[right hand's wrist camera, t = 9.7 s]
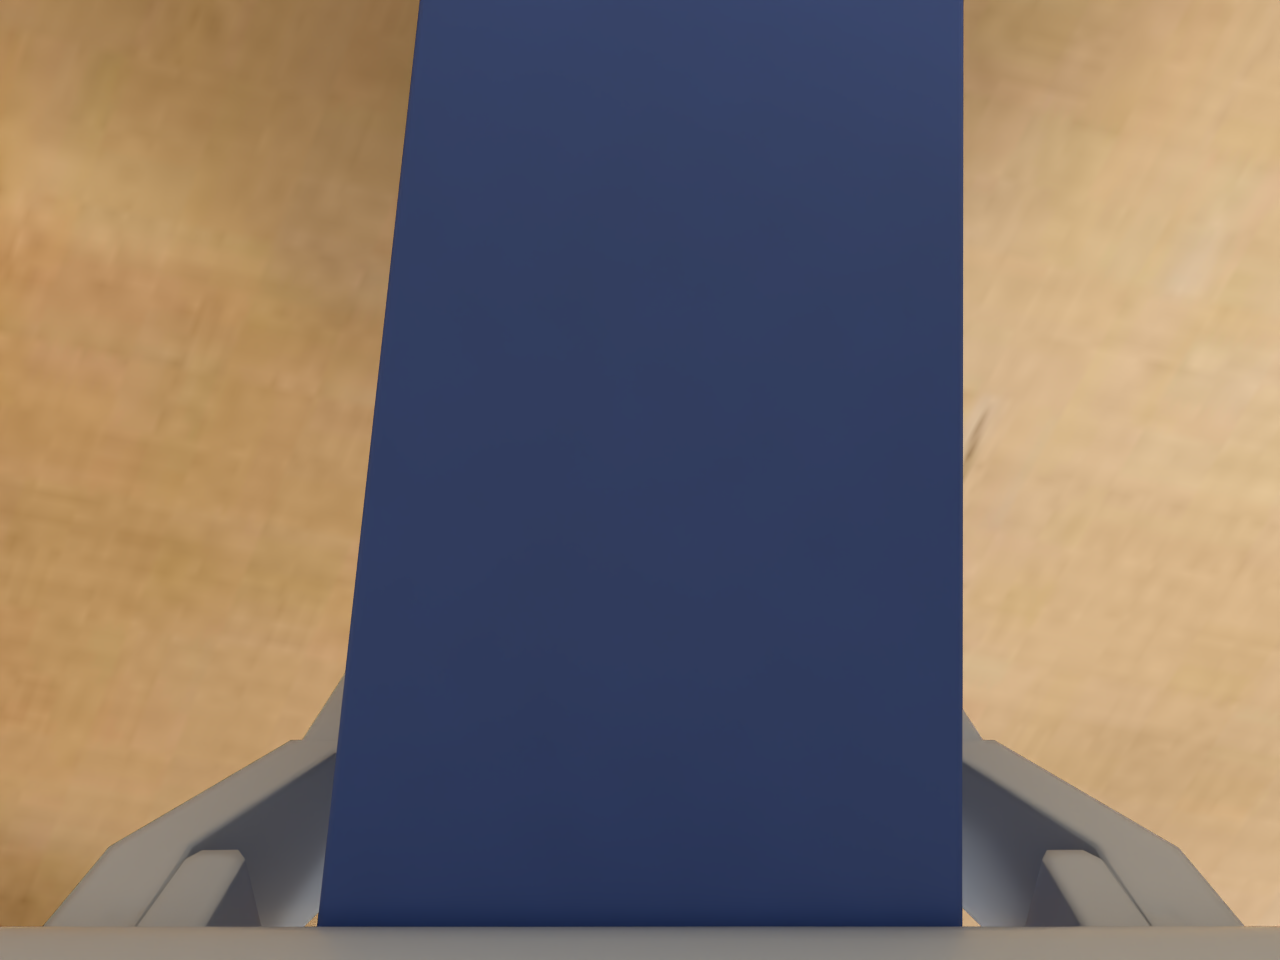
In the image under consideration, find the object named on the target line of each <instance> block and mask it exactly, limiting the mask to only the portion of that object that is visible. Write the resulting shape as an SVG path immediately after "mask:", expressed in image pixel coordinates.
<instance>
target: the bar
mask: <svg viewBox="0 0 1280 960" xmlns="http://www.w3.org/2000/svg"><path fill="white" fill-rule="evenodd" d="M962 698H963V0H420V3H419V12H418V22H417V31H416V40H415V49H414V58H413V67H412V76H411V85H410V94H409V103H408V112H407V121H406V130H405V139H404V148H403V157H402V166H401V175H400V184H399V193H398V202H397V211H396V220H395V229H394V238H393V247H392V256H391V265H390V274H389V283H388V292H387V301H386V310H385V319H384V328H383V337H382V346H381V355H380V364H379V373H378V382H377V391H376V400H375V409H374V418H373V427H372V436H371V445H370V454H369V463H368V472H367V481H366V490H365V499H364V508H363V517H362V526H361V535H360V544H359V553H358V562H357V571H356V580H355V589H354V598H353V607H352V616H351V625H350V634H349V643H348V652H347V661H346V670H345V679H344V688H343V697H342V706H341V716H340V725H339V734H338V743H337V752H336V761H335V770H334V779H333V788H332V797H331V806H330V815H329V824H328V833H327V842H326V851H325V860H324V869H323V878H322V887H321V896H320V905H319V914H318V923H317V927H686V926H839V927H962Z"/></svg>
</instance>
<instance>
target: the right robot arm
mask: <svg viewBox="0 0 1280 960" xmlns="http://www.w3.org/2000/svg"><path fill="white" fill-rule="evenodd" d="M344 679H345V674H344V675H343V677H342V678H341V680H340V681H339V683H338V685H337V686H336V688H335V689H334V691H333V692H332V694H331V695H330V697H329V699H328V700H327V702H326V703H325V705H324V706H323V708H322V710H321V711H320V713H319V714H318V716H317V717H316V719H315V720H314V722H313V724H312V725H311V727H310V728H309V730H308V731H307V733H306V735H305V736H304V738H303V739H302V740H290V741H289V742H287V743H285V744H284V745H282V746H280V747H278V748H277V749H275V750H273V751H272V752H270V753H268V754H267V755H265V756H263V757H261V758H260V759H258V760H256V761H255V762H253V763H251V764H249V765H248V766H246V767H244V768H243V769H241V770H239V771H238V772H236V773H234V774H232V775H231V776H229V777H227V778H226V779H224V780H222V781H220V782H219V783H217V784H215V785H214V786H212V787H210V788H209V789H207V790H205V791H203V792H202V793H200V794H198V795H197V796H195V797H193V798H191V799H190V800H188V801H186V802H185V803H183V804H181V805H179V806H178V807H176V808H174V809H173V810H171V811H169V812H168V813H166V814H164V815H162V816H161V817H159V818H157V819H156V820H154V821H152V822H150V823H149V824H147V825H145V826H144V827H142V828H140V829H139V830H137V831H135V832H133V833H132V834H130V835H128V836H127V837H125V838H123V839H121V840H120V841H118V842H116V843H115V844H113V845H111V846H110V847H109V848H108V849H107V850H106V851H105V852H104V854H103V855H102V856H101V857H100V858H99V860H98V861H97V862H96V863H95V864H94V866H93V867H92V868H91V869H90V870H89V871H88V873H87V874H86V875H85V876H84V877H83V879H82V880H81V881H80V882H79V883H78V885H77V886H76V887H75V888H74V889H73V891H72V892H71V893H70V894H69V895H68V897H67V898H66V899H65V900H64V901H63V903H62V904H61V905H60V906H59V907H58V909H57V910H56V911H55V912H54V913H53V915H52V916H51V917H50V918H49V919H48V921H47V922H46V923H45V924H44V925H43V927H0V960H1280V926H1244V925H1243V924H1242V923H1241V921H1240V920H1239V919H1238V918H1237V917H1236V915H1235V914H1234V913H1233V912H1232V911H1231V910H1230V908H1229V907H1228V906H1227V905H1226V904H1225V902H1224V901H1223V900H1222V899H1221V898H1220V896H1219V895H1218V894H1217V893H1216V892H1215V890H1214V889H1213V888H1212V887H1211V886H1210V884H1209V883H1208V882H1207V881H1206V880H1205V879H1204V877H1203V876H1202V875H1201V874H1200V873H1199V871H1198V870H1197V869H1196V868H1195V867H1194V865H1193V864H1192V863H1191V862H1190V861H1189V859H1188V858H1187V857H1186V856H1185V855H1184V853H1183V852H1182V851H1181V850H1180V849H1179V848H1178V847H1176V846H1175V845H1173V844H1171V843H1170V842H1168V841H1166V840H1164V839H1163V838H1161V837H1159V836H1158V835H1156V834H1154V833H1152V832H1151V831H1149V830H1147V829H1146V828H1144V827H1142V826H1140V825H1139V824H1137V823H1135V822H1134V821H1132V820H1130V819H1128V818H1127V817H1125V816H1123V815H1122V814H1120V813H1118V812H1116V811H1115V810H1113V809H1111V808H1110V807H1108V806H1106V805H1105V804H1103V803H1101V802H1099V801H1098V800H1096V799H1094V798H1093V797H1091V796H1089V795H1087V794H1086V793H1084V792H1082V791H1081V790H1079V789H1077V788H1075V787H1074V786H1072V785H1070V784H1069V783H1067V782H1065V781H1063V780H1062V779H1060V778H1058V777H1057V776H1055V775H1053V774H1051V773H1050V772H1048V771H1046V770H1045V769H1043V768H1041V767H1039V766H1038V765H1036V764H1034V763H1033V762H1031V761H1029V760H1027V759H1026V758H1024V757H1022V756H1021V755H1019V754H1017V753H1015V752H1014V751H1012V750H1010V749H1009V748H1007V747H1005V746H1003V745H1002V744H1000V743H998V742H997V741H995V740H983V739H982V737H981V736H980V734H979V733H978V731H977V730H976V728H975V727H974V725H973V724H972V722H971V721H970V719H969V718H968V716H967V714H966V713H965V711H964V710H963V708H962V908H963V909H964V910H965V911H966V912H967V913H968V914H969V915H970V916H971V917H972V918H973V919H974V920H975V921H976V922H977V923H978V924H979V925H981V926H982V927H839V926H686V927H304V926H305V925H306V924H307V923H308V922H309V921H310V920H311V919H312V918H313V917H314V916H315V915H316V914H317V913H318V912H319V905H320V896H321V887H322V878H323V869H324V860H325V851H326V842H327V833H328V824H329V815H330V806H331V797H332V788H333V779H334V770H335V761H336V752H337V743H338V734H339V725H340V716H341V706H342V697H343V688H344Z"/></svg>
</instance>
